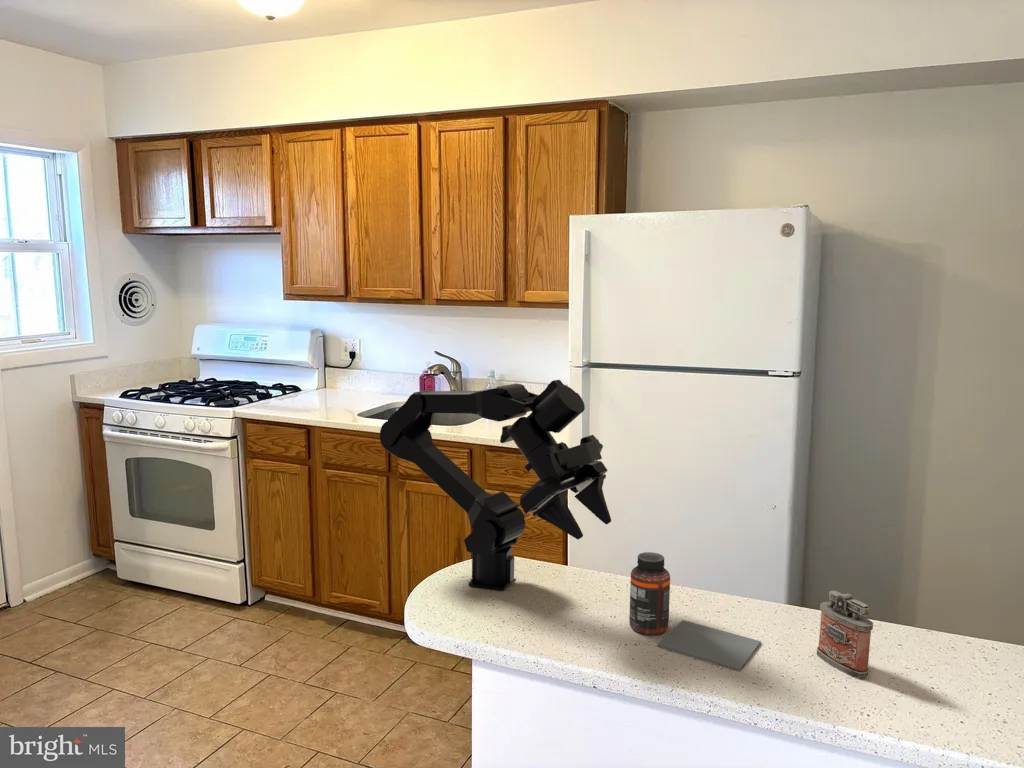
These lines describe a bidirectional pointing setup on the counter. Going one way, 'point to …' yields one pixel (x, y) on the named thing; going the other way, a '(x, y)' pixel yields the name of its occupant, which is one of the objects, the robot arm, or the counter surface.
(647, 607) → the supplement bottle
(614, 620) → the counter surface
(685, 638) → the mat
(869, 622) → the lighter
